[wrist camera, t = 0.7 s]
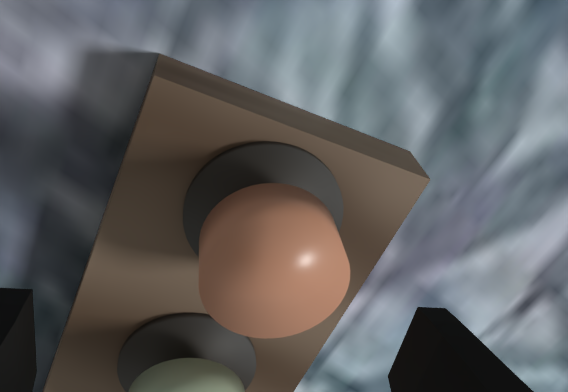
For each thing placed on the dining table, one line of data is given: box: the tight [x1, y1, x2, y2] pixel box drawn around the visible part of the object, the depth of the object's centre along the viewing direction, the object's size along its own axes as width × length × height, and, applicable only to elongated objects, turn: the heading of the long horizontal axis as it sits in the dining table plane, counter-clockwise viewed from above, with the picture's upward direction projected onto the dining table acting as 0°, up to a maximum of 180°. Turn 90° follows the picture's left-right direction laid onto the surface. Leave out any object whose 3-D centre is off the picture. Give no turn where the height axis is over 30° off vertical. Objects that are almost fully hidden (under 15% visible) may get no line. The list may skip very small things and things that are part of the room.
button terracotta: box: [198, 183, 350, 339], centre depth 15 cm, size 4×4×2 cm
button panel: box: [42, 54, 430, 392], centre depth 21 cm, size 20×9×2 cm, turn 156°
